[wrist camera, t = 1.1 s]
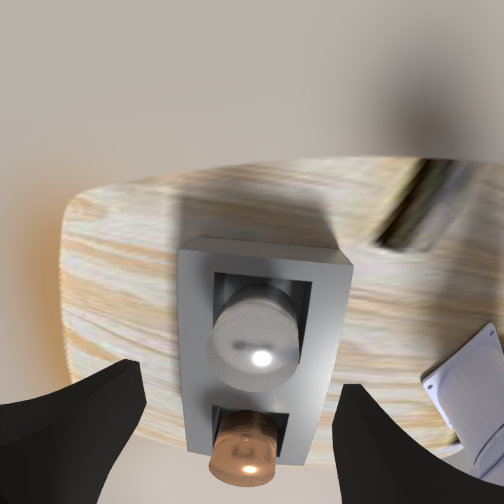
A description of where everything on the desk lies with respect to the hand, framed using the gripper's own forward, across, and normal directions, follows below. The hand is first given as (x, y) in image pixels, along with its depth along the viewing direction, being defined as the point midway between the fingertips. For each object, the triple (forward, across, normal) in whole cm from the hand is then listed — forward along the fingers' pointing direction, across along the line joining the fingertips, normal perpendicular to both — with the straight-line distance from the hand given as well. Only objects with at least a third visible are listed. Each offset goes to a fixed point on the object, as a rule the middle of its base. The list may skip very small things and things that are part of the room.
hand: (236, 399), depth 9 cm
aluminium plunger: (+7, 0, 0) cm, 7 cm away
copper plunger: (+7, 0, +9) cm, 11 cm away
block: (+10, 0, +4) cm, 11 cm away
